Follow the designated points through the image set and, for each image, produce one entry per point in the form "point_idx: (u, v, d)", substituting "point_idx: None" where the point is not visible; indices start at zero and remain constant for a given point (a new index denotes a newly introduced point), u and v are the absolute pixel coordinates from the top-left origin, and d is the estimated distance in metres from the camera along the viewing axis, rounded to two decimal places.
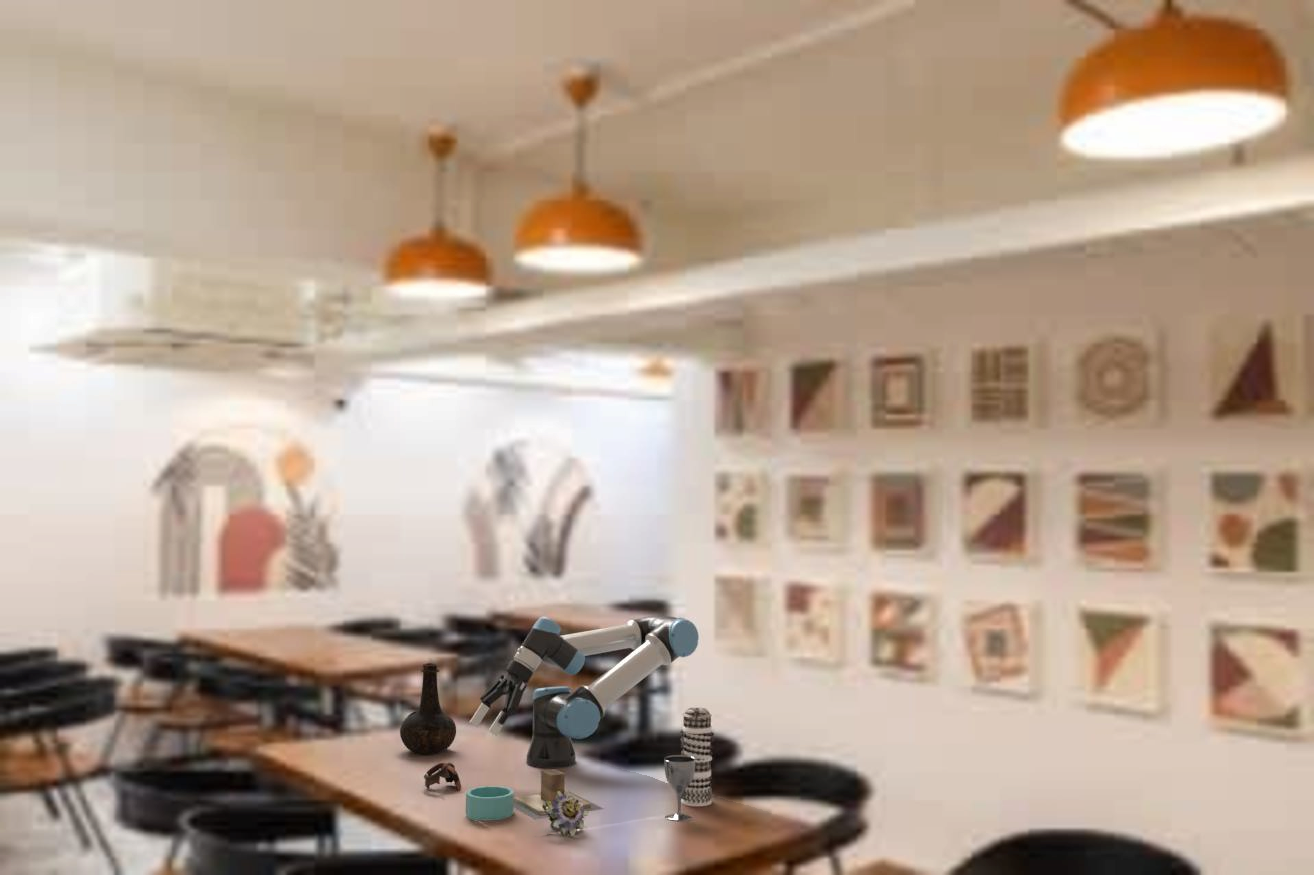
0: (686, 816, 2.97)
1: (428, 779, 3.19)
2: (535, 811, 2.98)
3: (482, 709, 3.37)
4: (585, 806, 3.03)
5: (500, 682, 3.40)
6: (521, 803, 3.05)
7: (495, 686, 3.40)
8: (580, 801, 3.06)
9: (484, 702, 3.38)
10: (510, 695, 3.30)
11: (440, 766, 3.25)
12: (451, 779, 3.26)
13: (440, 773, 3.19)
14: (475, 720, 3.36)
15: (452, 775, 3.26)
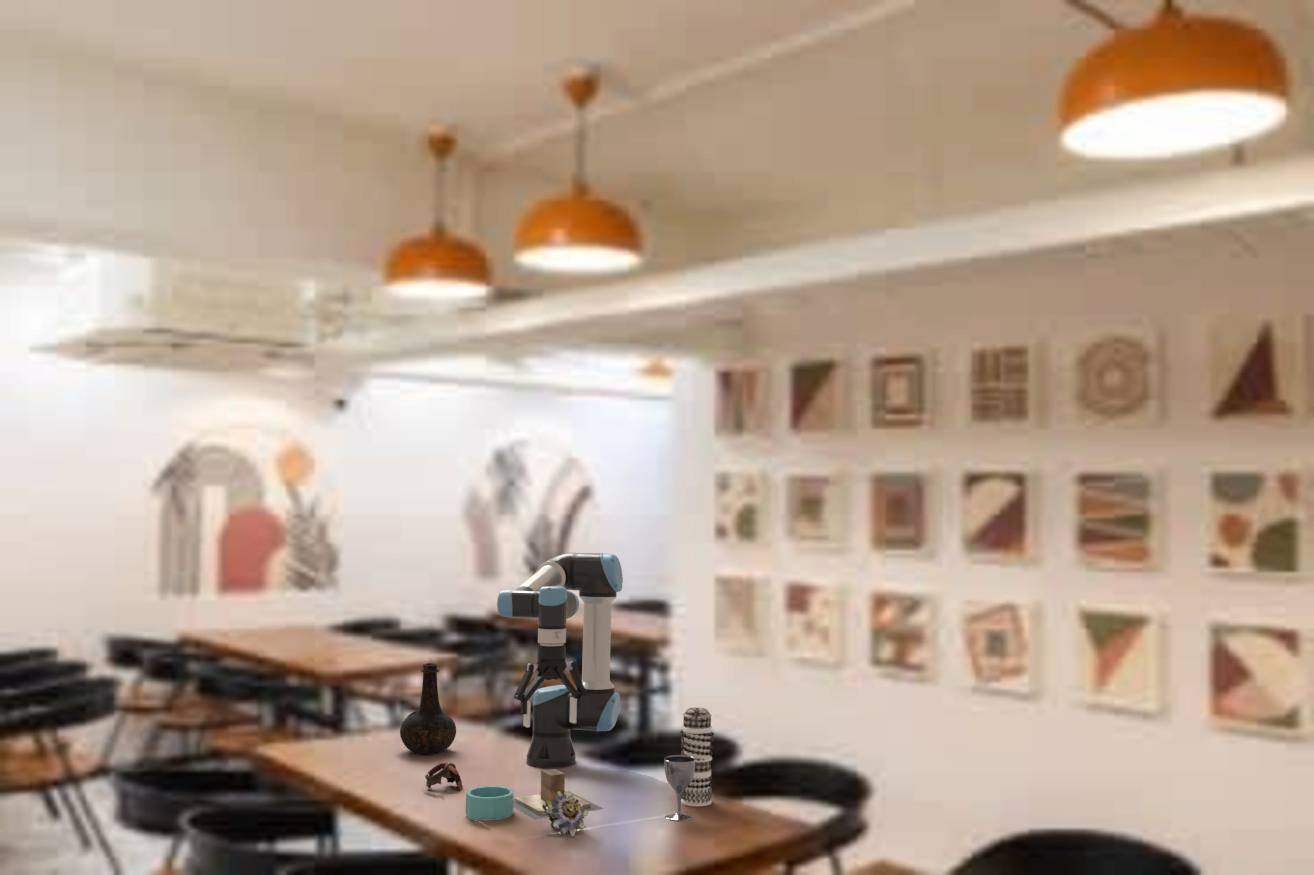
0: (686, 816, 2.97)
1: (429, 779, 3.19)
2: (535, 811, 2.98)
3: None
4: (585, 806, 3.03)
5: None
6: (521, 803, 3.05)
7: None
8: (580, 801, 3.06)
9: None
10: None
11: (441, 766, 3.25)
12: (452, 779, 3.26)
13: (442, 773, 3.19)
14: None
15: (453, 775, 3.26)
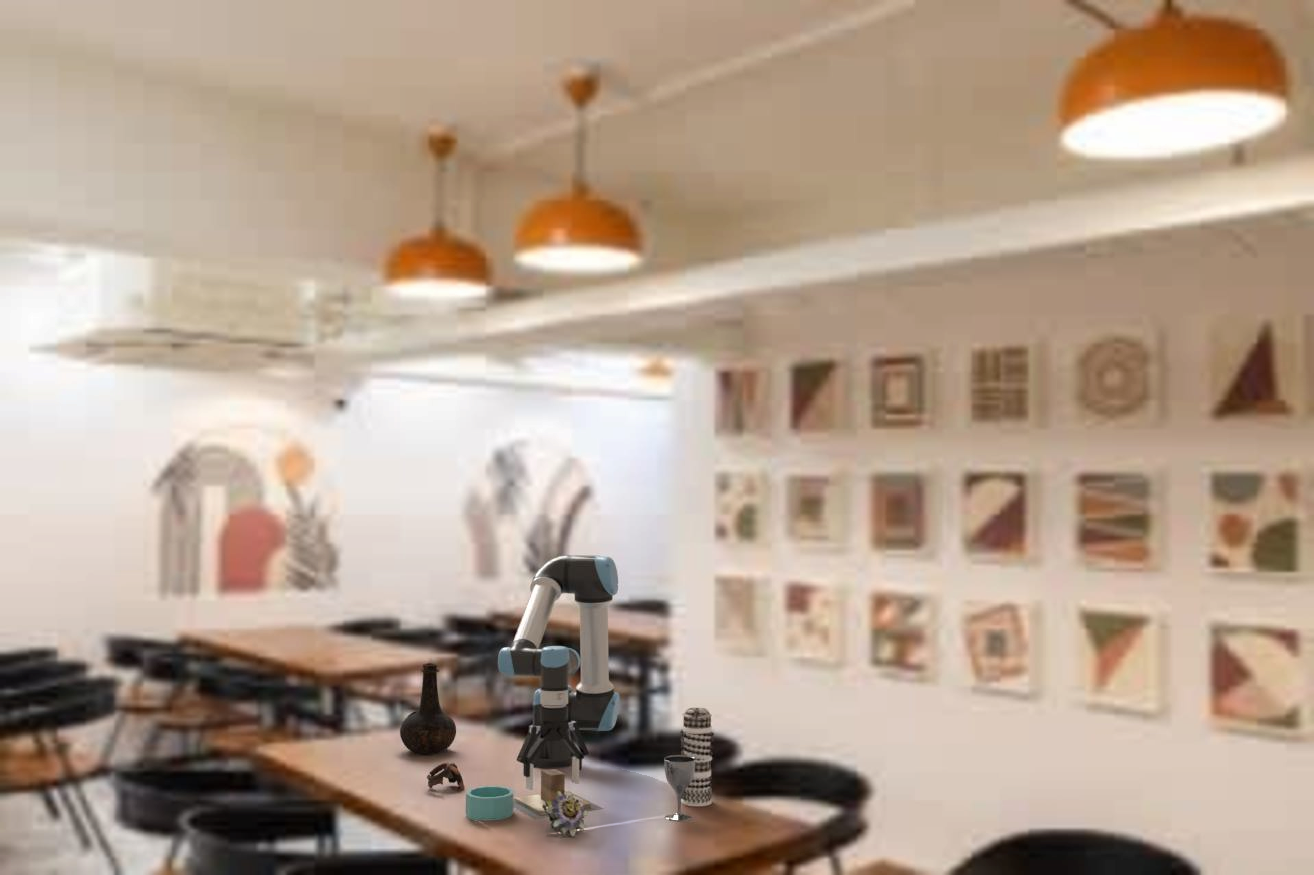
0: (686, 816, 2.97)
1: (431, 780, 3.19)
2: (535, 811, 2.98)
3: None
4: (585, 806, 3.03)
5: None
6: (521, 803, 3.05)
7: None
8: (580, 801, 3.06)
9: None
10: None
11: (443, 766, 3.24)
12: (454, 779, 3.26)
13: (443, 773, 3.18)
14: None
15: (455, 775, 3.26)
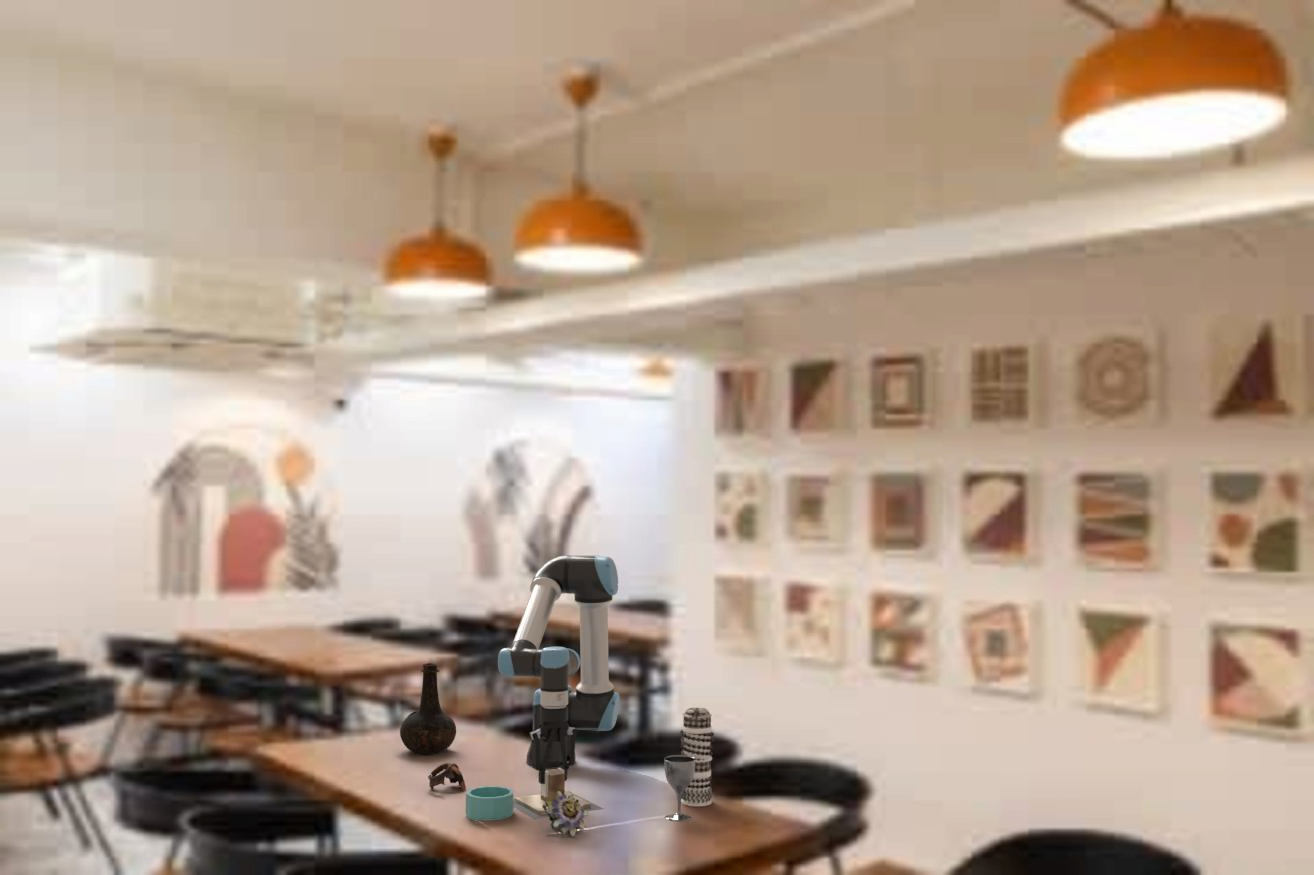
0: (686, 816, 2.97)
1: (433, 780, 3.18)
2: (535, 811, 2.98)
3: None
4: (585, 806, 3.03)
5: None
6: (521, 803, 3.05)
7: None
8: (580, 801, 3.06)
9: None
10: None
11: (444, 767, 3.24)
12: (455, 780, 3.26)
13: (445, 774, 3.18)
14: None
15: (456, 776, 3.25)
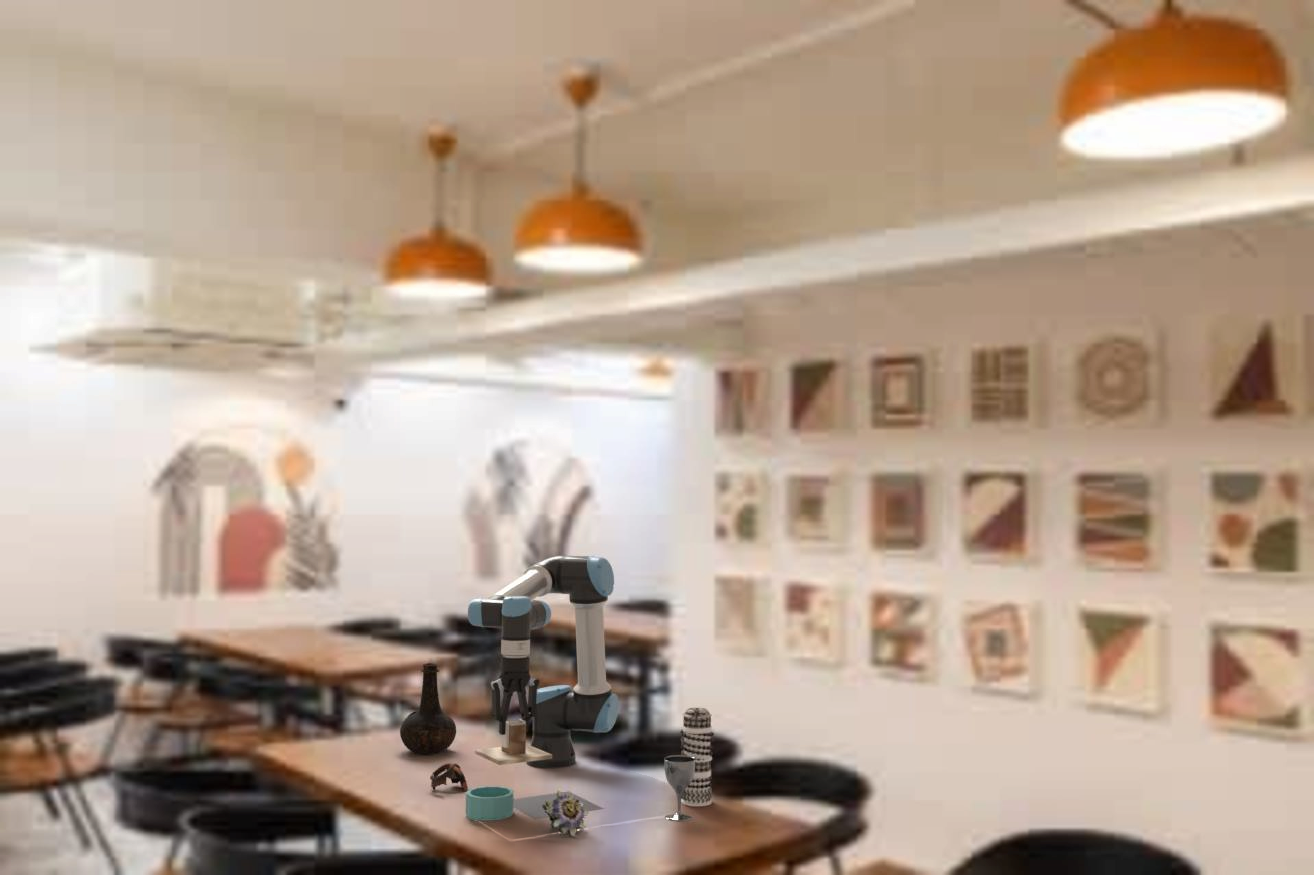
0: (686, 816, 2.97)
1: (435, 780, 3.18)
2: (495, 761, 2.92)
3: None
4: (546, 757, 2.97)
5: None
6: (481, 754, 2.99)
7: None
8: (542, 752, 3.00)
9: None
10: None
11: (446, 767, 3.24)
12: (457, 780, 3.26)
13: (447, 774, 3.18)
14: None
15: (458, 776, 3.25)
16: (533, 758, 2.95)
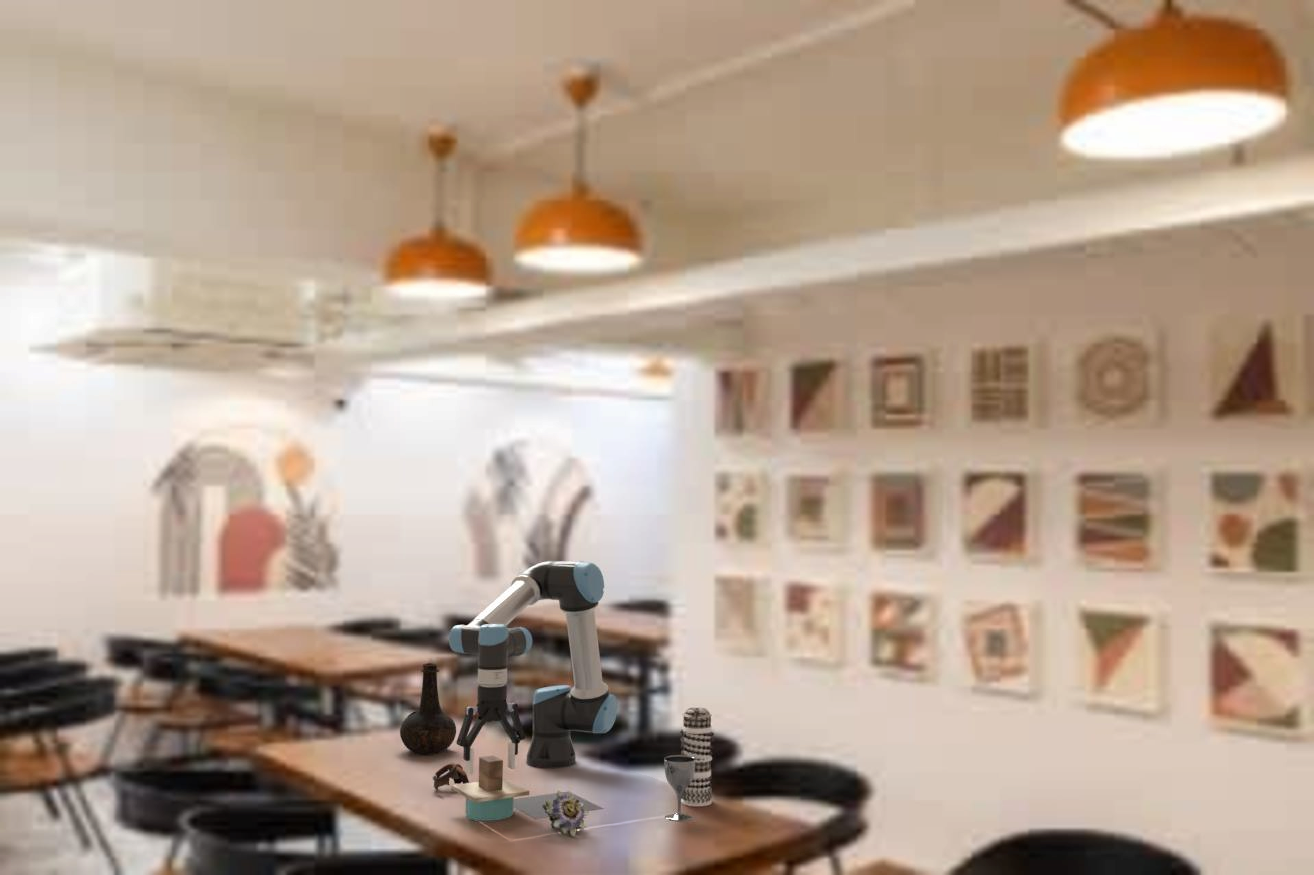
0: (686, 816, 2.97)
1: (437, 780, 3.18)
2: (471, 798, 2.88)
3: None
4: (523, 793, 2.94)
5: None
6: (458, 790, 2.96)
7: None
8: (519, 788, 2.97)
9: None
10: None
11: (449, 767, 3.23)
12: (459, 780, 3.25)
13: (450, 774, 3.18)
14: None
15: (461, 776, 3.25)
16: (510, 795, 2.92)
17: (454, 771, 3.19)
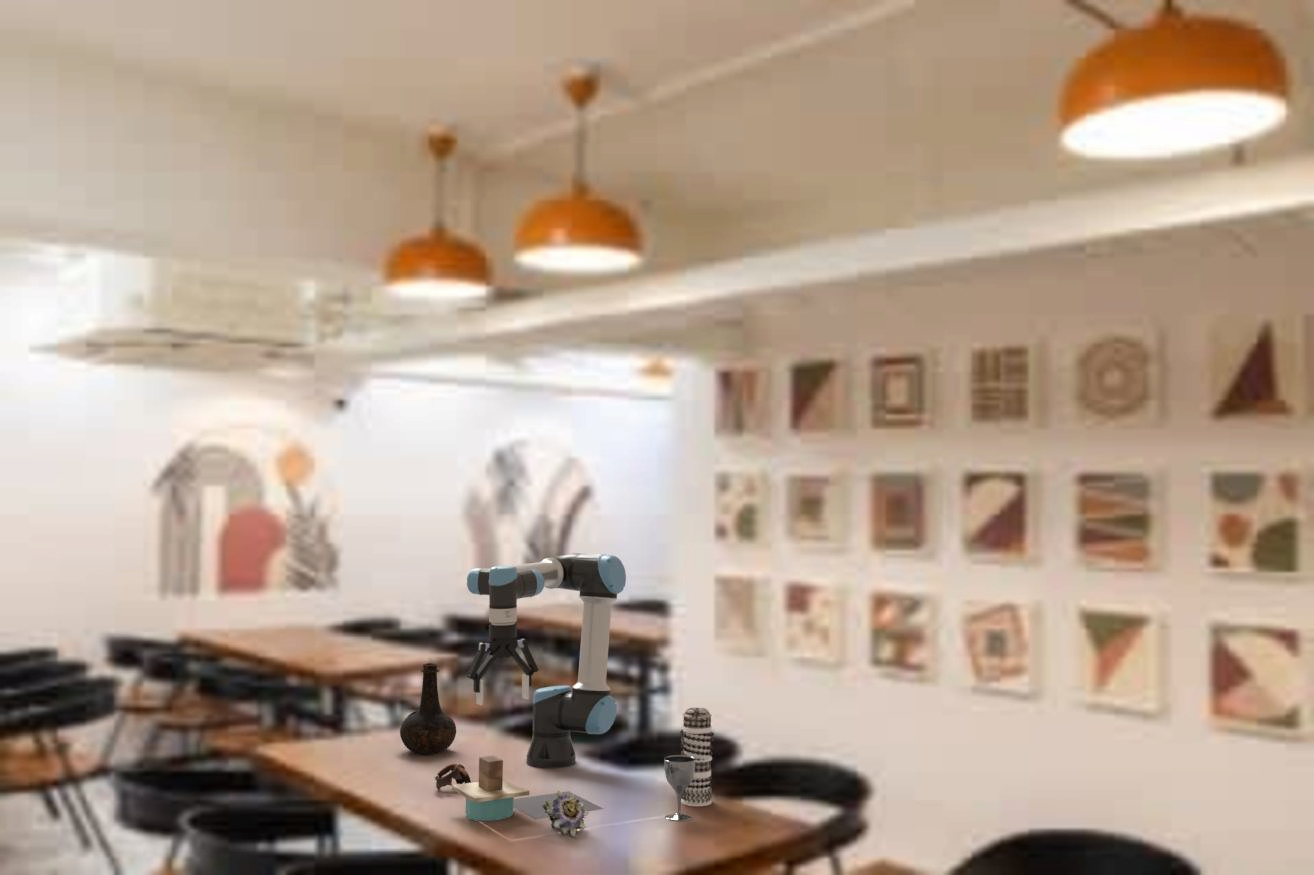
0: (686, 816, 2.97)
1: (440, 781, 3.17)
2: (471, 798, 2.88)
3: None
4: (523, 793, 2.94)
5: None
6: (458, 790, 2.96)
7: None
8: (519, 788, 2.97)
9: None
10: None
11: (451, 768, 3.23)
12: (462, 781, 3.25)
13: (452, 775, 3.17)
14: None
15: (463, 776, 3.24)
16: (510, 795, 2.92)
17: (456, 771, 3.19)
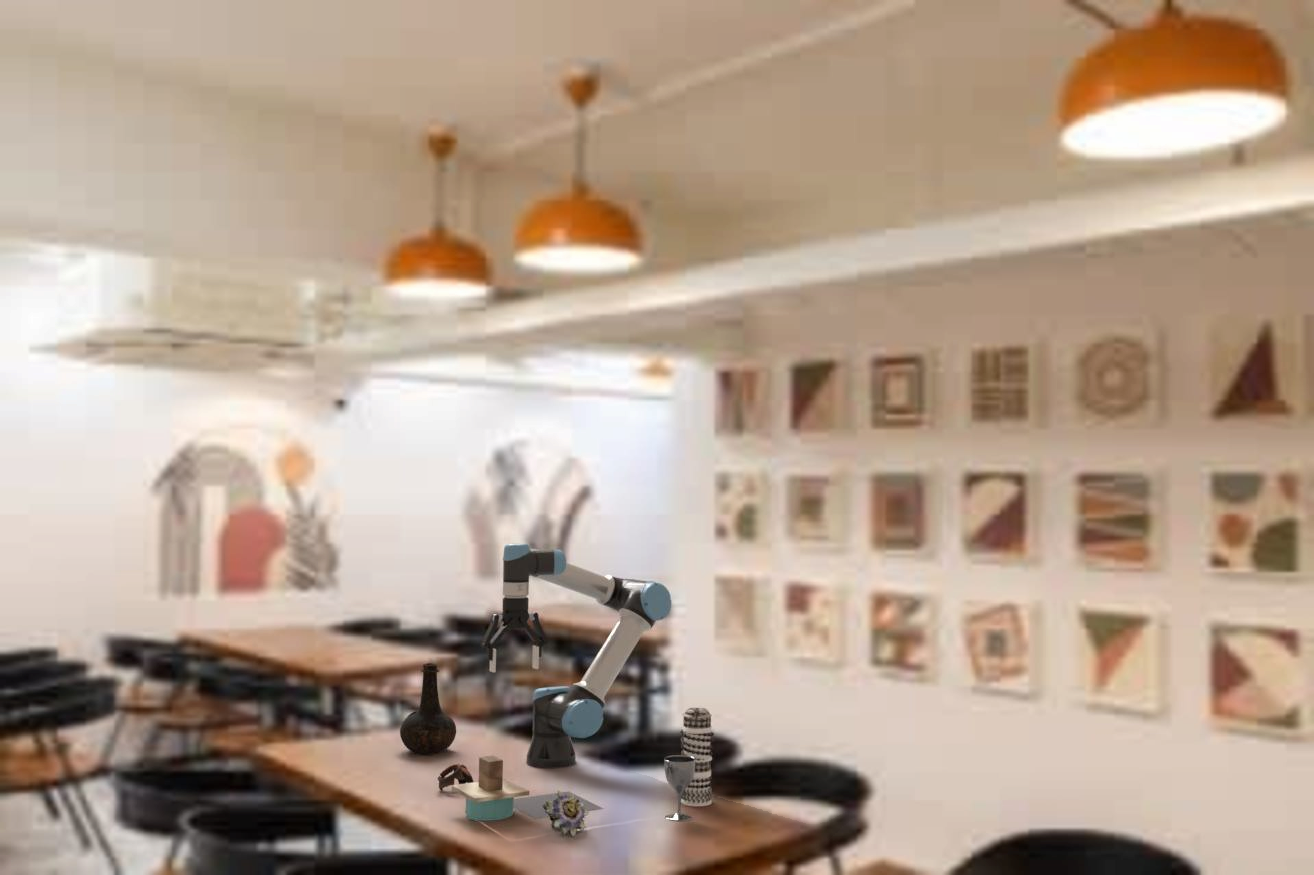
0: (686, 816, 2.97)
1: (442, 781, 3.17)
2: (471, 798, 2.88)
3: None
4: (523, 793, 2.94)
5: None
6: (458, 790, 2.96)
7: None
8: (519, 788, 2.97)
9: None
10: None
11: (453, 768, 3.23)
12: (464, 781, 3.25)
13: (455, 775, 3.17)
14: None
15: (465, 777, 3.24)
16: (510, 795, 2.92)
17: (459, 772, 3.18)
